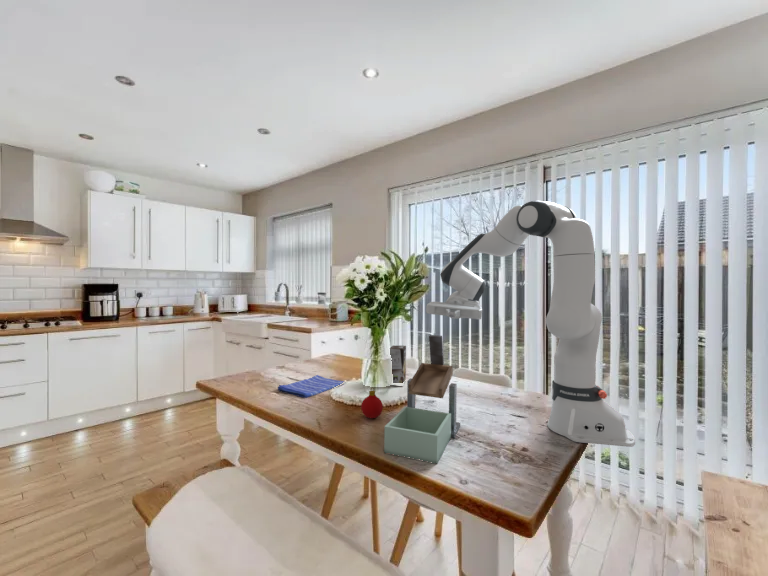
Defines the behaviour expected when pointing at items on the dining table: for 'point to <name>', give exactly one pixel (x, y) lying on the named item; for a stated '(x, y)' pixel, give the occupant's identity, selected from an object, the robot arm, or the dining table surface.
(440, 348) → the lever tray
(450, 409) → the lever stand
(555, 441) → the dining table surface
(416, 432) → the tub
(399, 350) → the coffee box
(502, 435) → the dining table surface
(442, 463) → the dining table surface
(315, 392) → the dish towel
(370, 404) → the christmas ornament
